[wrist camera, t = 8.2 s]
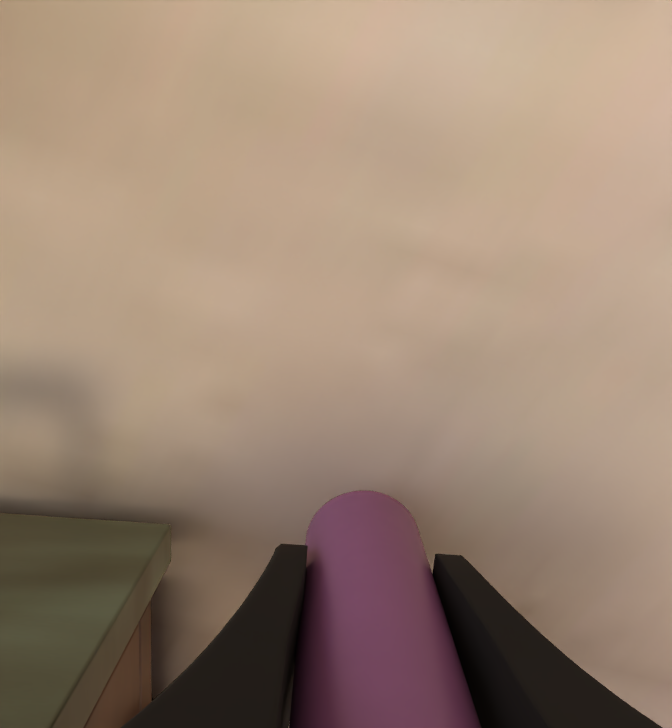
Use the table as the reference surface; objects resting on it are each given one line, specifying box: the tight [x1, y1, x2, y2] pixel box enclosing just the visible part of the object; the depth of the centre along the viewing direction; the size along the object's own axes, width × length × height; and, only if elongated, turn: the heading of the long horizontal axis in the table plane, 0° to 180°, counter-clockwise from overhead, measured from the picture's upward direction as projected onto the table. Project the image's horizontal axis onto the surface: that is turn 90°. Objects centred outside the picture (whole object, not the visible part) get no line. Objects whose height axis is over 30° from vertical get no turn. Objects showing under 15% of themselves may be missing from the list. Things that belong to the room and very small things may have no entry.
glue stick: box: [289, 491, 481, 728], centre depth 8 cm, size 3×3×10 cm
